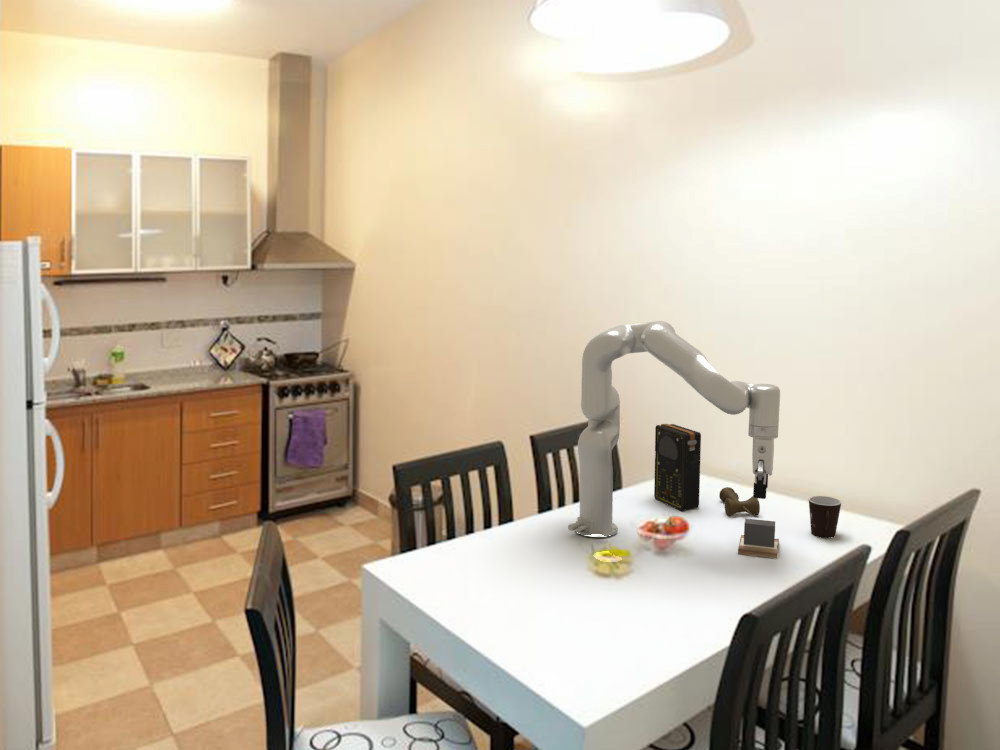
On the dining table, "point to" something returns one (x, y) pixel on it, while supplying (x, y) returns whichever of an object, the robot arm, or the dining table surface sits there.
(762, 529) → the plug housing
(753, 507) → the kendama
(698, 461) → the voltmeter
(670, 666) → the dining table surface
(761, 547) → the pin board
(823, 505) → the coffee mug
